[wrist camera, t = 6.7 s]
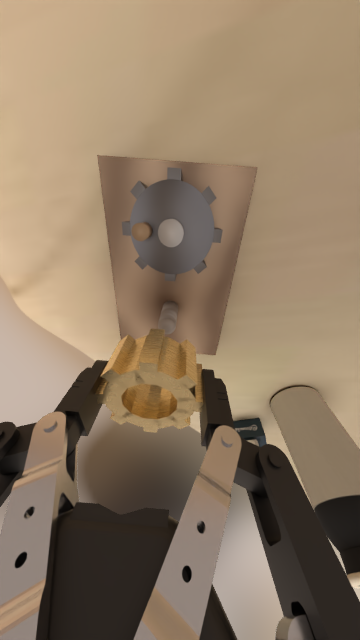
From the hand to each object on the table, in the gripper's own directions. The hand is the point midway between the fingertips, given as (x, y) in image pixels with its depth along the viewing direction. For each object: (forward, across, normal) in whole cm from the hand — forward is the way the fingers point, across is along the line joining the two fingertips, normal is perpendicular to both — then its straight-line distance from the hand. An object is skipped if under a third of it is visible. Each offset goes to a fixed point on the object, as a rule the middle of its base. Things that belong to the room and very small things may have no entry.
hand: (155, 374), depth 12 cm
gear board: (+12, 0, -3) cm, 12 cm away
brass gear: (+1, 0, 0) cm, 1 cm away
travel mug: (+12, -22, +17) cm, 30 cm away
